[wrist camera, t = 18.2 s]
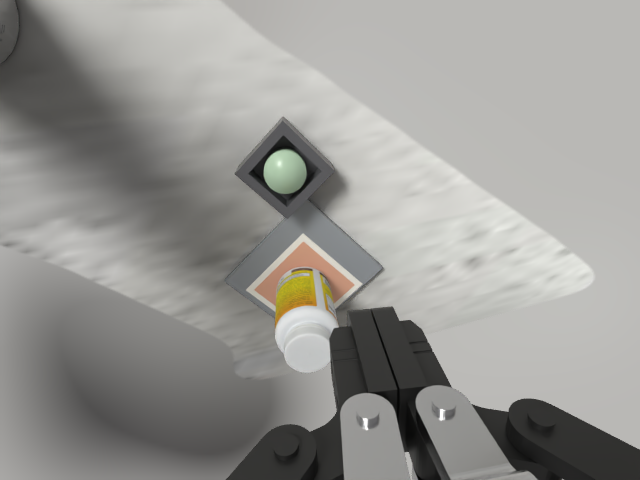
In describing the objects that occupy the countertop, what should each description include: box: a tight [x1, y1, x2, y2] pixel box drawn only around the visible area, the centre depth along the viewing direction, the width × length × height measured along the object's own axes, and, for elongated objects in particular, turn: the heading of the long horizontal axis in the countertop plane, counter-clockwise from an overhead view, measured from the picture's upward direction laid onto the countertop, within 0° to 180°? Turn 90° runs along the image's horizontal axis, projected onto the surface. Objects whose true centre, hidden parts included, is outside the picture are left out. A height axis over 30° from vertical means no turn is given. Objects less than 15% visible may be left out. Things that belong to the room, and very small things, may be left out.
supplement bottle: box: [275, 267, 339, 373], centre depth 35 cm, size 6×6×10 cm
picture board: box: [225, 199, 382, 318], centre depth 40 cm, size 11×12×1 cm
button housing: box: [235, 117, 335, 219], centre depth 34 cm, size 6×6×3 cm
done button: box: [264, 147, 307, 194], centre depth 33 cm, size 4×4×2 cm
